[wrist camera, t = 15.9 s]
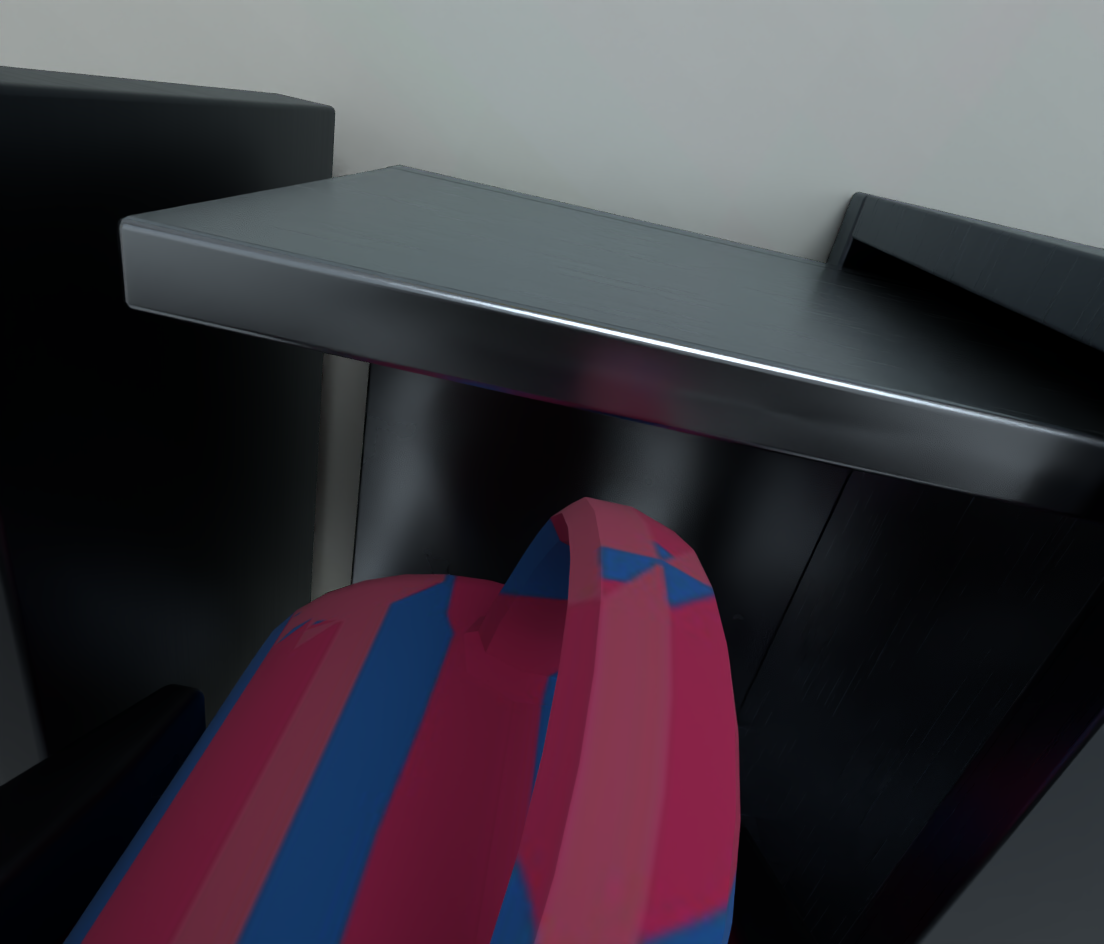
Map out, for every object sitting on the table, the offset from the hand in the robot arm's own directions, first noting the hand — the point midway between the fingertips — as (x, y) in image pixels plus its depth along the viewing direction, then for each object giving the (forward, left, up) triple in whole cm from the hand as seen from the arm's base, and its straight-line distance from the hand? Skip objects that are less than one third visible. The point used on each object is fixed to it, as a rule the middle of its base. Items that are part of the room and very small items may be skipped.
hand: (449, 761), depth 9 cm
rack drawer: (-1, +1, -8) cm, 8 cm away
